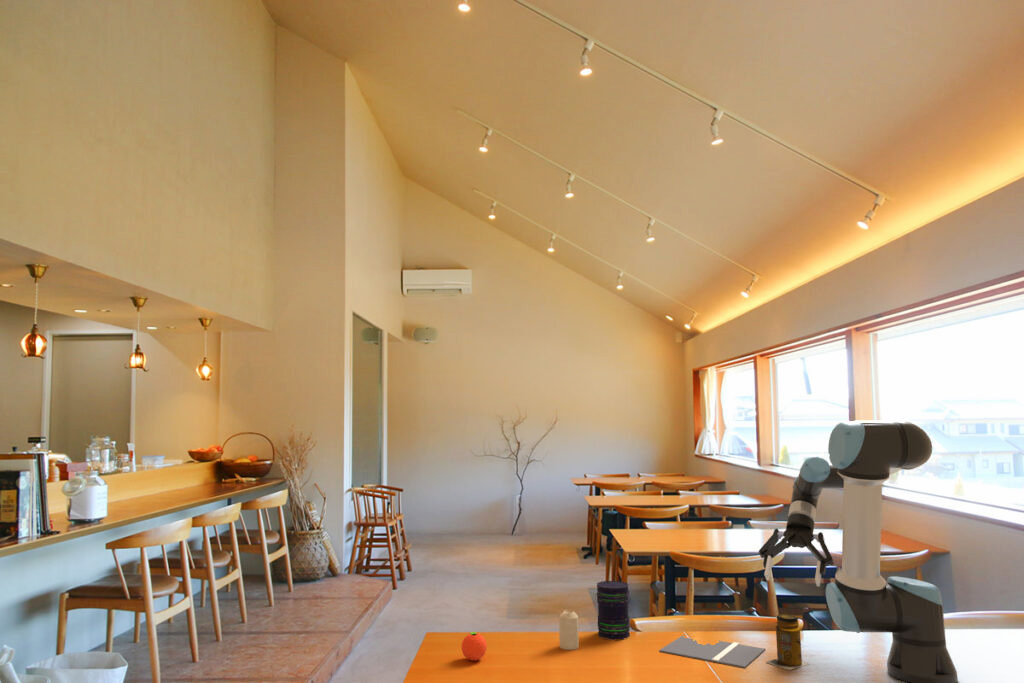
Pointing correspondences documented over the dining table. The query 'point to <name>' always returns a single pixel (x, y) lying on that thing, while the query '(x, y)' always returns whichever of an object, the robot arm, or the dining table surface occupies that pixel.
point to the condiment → (788, 643)
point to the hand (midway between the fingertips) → (791, 580)
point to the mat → (714, 651)
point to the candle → (568, 630)
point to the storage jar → (613, 610)
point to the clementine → (474, 646)
